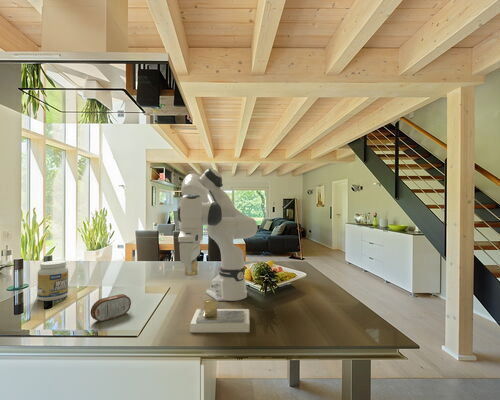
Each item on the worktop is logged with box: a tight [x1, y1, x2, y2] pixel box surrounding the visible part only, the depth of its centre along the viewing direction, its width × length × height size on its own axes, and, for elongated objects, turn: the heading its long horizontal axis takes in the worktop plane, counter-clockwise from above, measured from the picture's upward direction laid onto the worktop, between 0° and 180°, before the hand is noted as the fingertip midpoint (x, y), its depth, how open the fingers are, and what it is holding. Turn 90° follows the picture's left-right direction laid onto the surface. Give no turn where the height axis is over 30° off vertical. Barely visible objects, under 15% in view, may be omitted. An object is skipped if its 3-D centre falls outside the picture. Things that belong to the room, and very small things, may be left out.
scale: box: [189, 308, 250, 333], centre depth 107 cm, size 21×14×4 cm, turn 91°
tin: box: [90, 293, 132, 322], centre depth 113 cm, size 15×3×8 cm, turn 141°
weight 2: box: [203, 298, 218, 317], centre depth 105 cm, size 5×5×5 cm
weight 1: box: [184, 260, 199, 277], centre depth 112 cm, size 5×5×5 cm
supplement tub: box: [36, 259, 69, 302], centre depth 137 cm, size 12×12×17 cm
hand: (191, 270), depth 112 cm, fingers closed on weight 1, 5 cm apart
